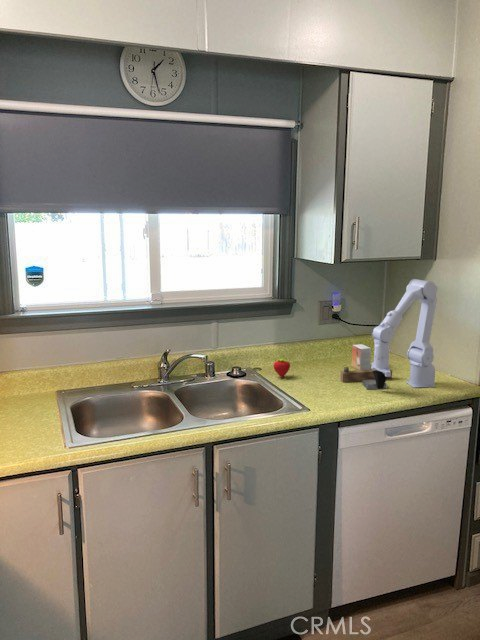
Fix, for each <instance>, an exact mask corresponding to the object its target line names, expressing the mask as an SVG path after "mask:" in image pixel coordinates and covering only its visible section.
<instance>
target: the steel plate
mask: <svg viewBox="0 0 480 640" xmlns="http://www.w3.org/2000/svg"><path fill="white" fill-rule="evenodd" d="M361 382H362V386H363V387H364V388H365V389H366V390H379V389H378V388H377V386H376V380H375V379H374V380H363V381H361ZM384 389H387V382H385V384H384V388H383V389H382V390H384Z"/></svg>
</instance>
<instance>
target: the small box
mask: <svg viewBox="0 0 480 640" xmlns="http://www.w3.org/2000/svg"><path fill="white" fill-rule="evenodd" d="M351 347H352V348H351V363H350V364H351V365H350V366H351V368H354V369H356V370H371V365H372V348H371V347H369V346H367V345H364V343H360V344H352V345H351Z"/></svg>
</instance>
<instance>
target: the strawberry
mask: <svg viewBox="0 0 480 640" xmlns="http://www.w3.org/2000/svg"><path fill="white" fill-rule="evenodd" d="M281 356H282V358H280V359H276V361H275V362H274V363H273V367H272V368H273V369H274V371H275V372H276V374H277V375H278V376H279V378H284V377H285V376H286V374H287V373H288V372H289V371H290V368H291V364H290V362H289V361H288V360H287V359H286V358H284V356H283V355H281Z"/></svg>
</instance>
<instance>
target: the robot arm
mask: <svg viewBox="0 0 480 640" xmlns="http://www.w3.org/2000/svg"><path fill="white" fill-rule="evenodd" d="M405 288H406V290H405V292H404V294H403V296H402V297H401V299H400V301H399V302H398V304H397V305H396V307H395V309H394V310H390V311H388V312H387V313H386V316H385V317H384V319H382V321H381V322H380V324H379V325H378V326H375V327H374V328H373V330H372V332H371V336H372V338H373V343H374V349H373V351H374V353H373V361H371V365H370V370H374V369H375V371H372V372H373V374H374V377H375V380H376V386H377V388H378V389H377V390H384V389H383V388H384V384H385V383H386V381H387V380H386V379H387V377H390V376H391V372H390V370H389V369H390V365H389V361H390V360H389V359H390V342H391V341H392V340H393V338H394V333H395V330H396V329H397V328H398V326H399V324H401V322H402V321H403V314H404V313H405V312H406V311H407V310H408V308H409V307H410V306H411V305H412V304H413V302H414V301H417V300H418V301H419V302H420V303H421V306H420V311H419V316H418V317H419V319H418V322H417V329H416V334H415V339H414V340H413V341H412V342H411V343H410V344H409V345H410V346H409V348H408V350H407V353H406V357H407V359H408V360H409V363H410V369H409V371H410V372H409V380H406V381H405V383H407V384H408V385H409V386H410V387H412V388H414V389H417V388H429V387H430V388H433V387H436V385H435V382H436V381H435V379H436V378H435V377H436V367H435V365H434V364H433V362H434V347H433V346H432V344H431V343H430V339H431V335H432V330H433V328H432V327H433V324H434V323H433V322H434V318H435V312H436V307H437V292H438V286H437V285H436V284H435V282H433V281H431V280H423V279H417V278H413V279H411V280H410V281H409V283H408V284H407V286H406V287H405ZM388 365H389V367H388Z"/></svg>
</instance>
